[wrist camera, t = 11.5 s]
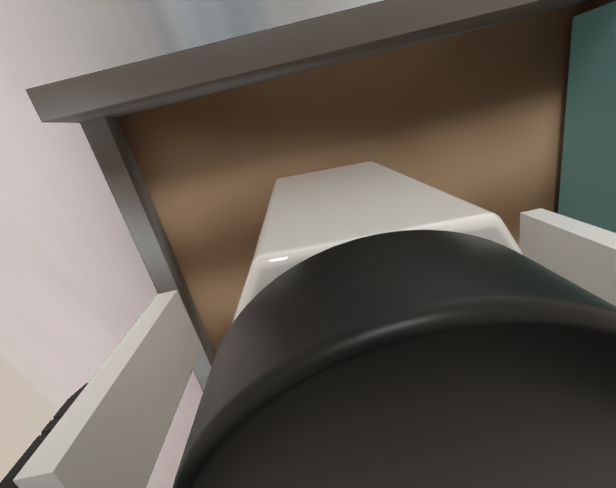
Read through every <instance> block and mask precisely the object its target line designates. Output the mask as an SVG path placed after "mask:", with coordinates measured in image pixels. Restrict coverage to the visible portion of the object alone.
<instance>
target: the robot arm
mask: <svg viewBox="0 0 616 488" xmlns="http://www.w3.org/2000/svg"><path fill="white" fill-rule="evenodd" d="M519 248H520V249H521V251H522V252H523V254H524V256H526V257H527V258H529V259H531V260H533V261H535V262H536V263H538V264H540V265H542V266H544V267H545V268H547V269H549V270H551V271H553V272H554V273H556V274H558V275H560V276H562V277H563V278H565V279H567V280H569V281H571V282H572V283H574V284H576V285H578V286H580V287H581V288H583V289H585V290H587V291H589V292H590V293H592V294H594V295H596V296H598V297H599V298H601V299H603V300H605V301H607V302H608V303H610V304H612V305H614V306H616V233H614V232H611V231H608V230H605V229H602V228H599V227H596V226H593V225H590V224H587V223H584V222H581V221H578V220H575V219H572V218H569V217H566V216H563V215H560V214H557V213H554V212H551V211H548V210H545V209H542V208H539V209H535V210H530V211H526V212H521V213H520V237H519ZM200 350H201V344H200V342H199V340H198V337H197V335H196V333H195V330H194V328H193V326H192V324H191V321H190V319H189V317H188V314H187V312H186V310H185V307H184V305H183V303H182V300H181V298H180V296H179V294H178V291H177V290H174V291H170V292H165V293H161V294H157V296H156V297H155V298H154V300H153V301H152V302H151V303H150V305H149V306H148V307H147V309H146V310H145V311H144V312H143V314H142V315H141V316H140V318H139V319H138V320H137V321H136V323H135V324H134V325H133V326H132V328H131V329H130V330H129V332H128V333H127V334H126V335H125V337H124V338H123V339H122V341H121V342H120V343H119V344H118V346H117V347H116V348H115V350H114V351H113V352H112V353H111V355H110V356H109V357H108V359H107V360H106V361H105V362H104V364H103V365H102V366H101V368H100V369H99V370H98V371H97V373H96V374H95V375H94V377H93V378H92V379H91V380H90V382H89V383H86V384H85V385H84V386H83V387H81V388H80V389H79V390H78V391H77V392H76V393H75V394H73V395H72V396H71V397H70V398H69V399H68V400H67V401H66V402H65V403H64V405H63V406H62V407H61V408H60V410H59V411H58V412H57V413H56V415H55V416H54V420H52V421H50V422H49V423H48V424H47V426H46V427H45V428H44V429H43V431H42V434H41V436H38V437H37V438H36V440H35V441H34V442H33V443H32V444H31V446H30V447H29V448H28V449H27V450H26V452H25V453H24V454H23V455H22V457H21V458H20V459H19V460H18V462H17V463H16V464H15V465H14V467H13V468H12V469H11V470H10V471H9V473H8V474H7V475H6V476H5V478H4V479H3V480H2V482H1V483H0V488H146V486H147V483H148V481H149V478H150V476H151V473H152V471H153V468H154V465H155V463H156V460H157V458H158V455H159V453H160V450H161V448H162V445H163V443H164V440H165V438H166V435H167V433H168V430H169V428H170V425H171V423H172V420H173V418H174V415H175V413H176V410H177V408H178V405H179V403H180V400H181V398H182V395H183V393H184V390H185V387H186V385H187V382H188V380H189V377H190V375H191V372H192V370H193V367H194V365H195V362H196V360H197V357H198V355H199V352H200Z"/></svg>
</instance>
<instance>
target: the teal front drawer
mask: <svg viewBox="0 0 616 488" xmlns="http://www.w3.org/2000/svg"><path fill="white" fill-rule="evenodd" d="M614 1H616V0H384V1H380V2H376V3H372V4H368V5H364V6H360V7H356V8H352V9H348V10H344V11H340V12H336V13H332V14H328V15H324V16H320V17H316V18H312V19H308V20H304V21H300V22H296V23H292V24H288V25H284V26H280V27H276V28H272V29H268V30H264V31H259V32H255V33H251V34H247V35H243V36H239V37H235V38H231V39H227V40H223V41H219V42H215V43H211V44H207V45H203V46H199V47H195V48H191V49H187V50H183V51H179V52H175V53H171V54H167V55H163V56H159V57H155V58H151V59H147V60H143V61H139V62H135V63H131V64H127V65H122V66H118V67H114V68H110V69H106V70H102V71H98V72H94V73H90V74H86V75H82V76H78V77H74V78H70V79H66V80H62V81H58V82H54V83H50V84H46V85H42V86H38V87H34V88H30V89H26V91H27V93H28V95H29V97H30V99H31V101H32V103H33V105H34V107H35V109H36V111H37V113H38V115H39V117H40V119H41V121H42V122H64V123H80V124H81V126H82V128H83V131H84V133H85V135H86V137H87V139H88V142H89V144H90V146H91V148H92V150H93V152H94V155H95V157H96V159H97V161H98V163H99V166H100V168H101V170H102V172H103V174H104V176H105V179H106V181H107V183H108V185H109V187H110V190H111V192H112V194H113V196H114V198H115V201H116V203H117V205H118V207H119V209H120V211H121V214H122V216H123V218H124V220H125V222H126V225H127V227H128V229H129V231H130V233H131V236H132V238H133V240H134V242H135V244H136V246H137V249H138V251H139V253H140V255H141V257H142V260H143V262H144V264H145V266H146V268H147V270H148V273H149V275H150V277H151V279H152V281H153V284H154V286H155V288H156V290H157V292H158V294H161V293H165V292H170V291H174V290H177V291H178V294H179V296H180V298H181V300H182V303H183V305H184V307H185V310H186V312H187V314H188V317H189V319H190V321H191V324H192V326H193V328H194V330H195V333H196V335H197V337H198V340H199V342H200V344H201V350H200V352H199V355H198V357H197V360H196V362H195V365H194V367H193V371H194V373H195V375H196V378H197V380H198V382H199V384H200V386H201V389H202V391H203V392H204V389H205V386H206V383H207V380H208V377H209V374H210V371H211V368H212V365H213V361H214V358H215V356H216V353H217V351H218V348H219V346H220V344H221V342H222V340H223V338H224V336H225V334H226V333H227V331H228V328H229V325H230V322H231V318H232V315H233V312H234V309H235V305H236V302H237V299H238V296H239V292H240V289H241V286H242V282H243V279H244V276H245V273H246V269H247V266H248V263H249V260H250V257H251V254H252V251H253V247H254V244H255V241H256V238H257V235H258V232H259V229H260V226H261V223H262V220H263V217H264V213H265V210H266V207H267V204H268V201H269V198H270V195H271V192H272V189H273V186H274V183H275V181H276V180H277V179H279V178H283V177H289V176H294V175H299V174H305V173H310V172H315V171H321V170H326V169H331V168H337V167H342V166H347V165H353V164H358V163H363V162H369V161H374V162H376V163H379V164H381V165H383V166H386V167H388V168H390V169H393V170H395V171H397V172H400V173H402V174H404V175H407V176H409V177H411V178H414V179H416V180H418V181H421V182H423V183H425V184H428V185H430V186H432V187H435V188H437V189H439V190H442V191H444V192H446V193H449V194H451V195H453V196H456V197H458V198H460V199H463V200H465V201H467V202H470V203H472V204H474V205H477V206H479V207H481V208H484V209H486V210H488V211H491V212H493V213H495V214H497V215H498V216H499V217H500V218H501V219H502V220H503V222H504V224H505V225H506V227H507V228H508V230H509V232H510V233H511V235H512V236H513V238H514V240H515V241H516V243H517V244H518V246H519V237H520V213H521V212H526V211H530V210H535V209H539V208H542V209H545V210H548V211H551V212H554V213H557V214H558V205H559V191H560V178H561V165H562V152H563V139H564V126H565V113H566V99H567V86H568V73H569V60H570V47H571V34H572V21H573V17H575V16H577V15H580V14H582V13H585V12H588V11H590V10H593V9H595V8H598V7H601V6H603V5H606V4H608V3H611V2H614Z"/></svg>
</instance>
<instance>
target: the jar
mask: <svg viewBox="0 0 616 488" xmlns="http://www.w3.org/2000/svg"><path fill="white" fill-rule="evenodd" d="M173 488H616V306H614V305H612V304H610V303H608V302H607V301H605V300H603V299H601V298H599V297H598V296H596V295H594V294H592V293H590V292H589V291H587V290H585V289H583V288H581V287H580V286H578V285H576V284H574V283H572V282H571V281H569V280H567V279H565V278H563V277H562V276H560V275H558V274H556V273H554V272H553V271H551V270H549V269H547V268H545V267H544V266H542V265H540V264H538V263H536V262H535V261H533V260H531V259H529V258H527V257H526V256H524V254H523V252H522V251H521V249H520V248H519V246H518V244H517V243H516V241H515V240H514V238H513V236H512V235H511V233H510V232H509V230H508V228H507V227H506V225H505V224H504V222H503V220H502V219H501V218H500V217H499V216H498V215H497V214H495V213H493V212H491V211H488V210H486V209H484V208H481V207H479V206H477V205H474V204H472V203H470V202H467V201H465V200H463V199H460V198H458V197H456V196H453V195H451V194H449V193H446V192H444V191H442V190H439V189H437V188H435V187H432V186H430V185H428V184H425V183H423V182H421V181H418V180H416V179H414V178H411V177H409V176H407V175H404V174H402V173H400V172H397V171H395V170H393V169H390V168H388V167H386V166H383V165H381V164H379V163H376V162H374V161H369V162H363V163H358V164H353V165H347V166H342V167H337V168H331V169H326V170H321V171H315V172H310V173H305V174H299V175H294V176H289V177H283V178H279V179H277V180H276V181H275V183H274V186H273V189H272V192H271V195H270V198H269V201H268V204H267V207H266V210H265V213H264V217H263V220H262V223H261V226H260V229H259V232H258V235H257V238H256V241H255V244H254V247H253V251H252V254H251V257H250V260H249V263H248V266H247V269H246V273H245V276H244V279H243V282H242V286H241V289H240V292H239V296H238V299H237V302H236V305H235V309H234V312H233V315H232V318H231V322H230V325H229V328H228V331H227V333H226V334H225V336H224V338H223V340H222V342H221V344H220V346H219V348H218V351H217V353H216V356H215V358H214V361H213V365H212V368H211V371H210V374H209V377H208V380H207V383H206V386H205V389H204V392H203V395H202V398H201V401H200V404H199V407H198V410H197V413H196V417H195V420H194V423H193V426H192V429H191V432H190V435H189V438H188V441H187V444H186V447H185V450H184V453H183V456H182V459H181V462H180V465H179V469H178V472H177V475H176V478H175V481H174V485H173Z"/></svg>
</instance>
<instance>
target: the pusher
mask: <svg viewBox="0 0 616 488" xmlns="http://www.w3.org/2000/svg"><path fill="white" fill-rule="evenodd" d="M558 214H560V215H563V216H566V217H569V218H572V219H575V220H578V221H581V222H584V223H587V224H590V225H593V226H596V227H599V228H602V229H605V230H608V231H611V232H614V233H616V1H614V2H611V3H608V4H606V5H603V6H601V7H598V8H595V9H593V10H590V11H588V12H585V13H582V14H580V15H577V16H575V17H573V21H572V34H571V47H570V60H569V73H568V86H567V99H566V113H565V126H564V139H563V152H562V165H561V178H560V191H559V205H558Z"/></svg>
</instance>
